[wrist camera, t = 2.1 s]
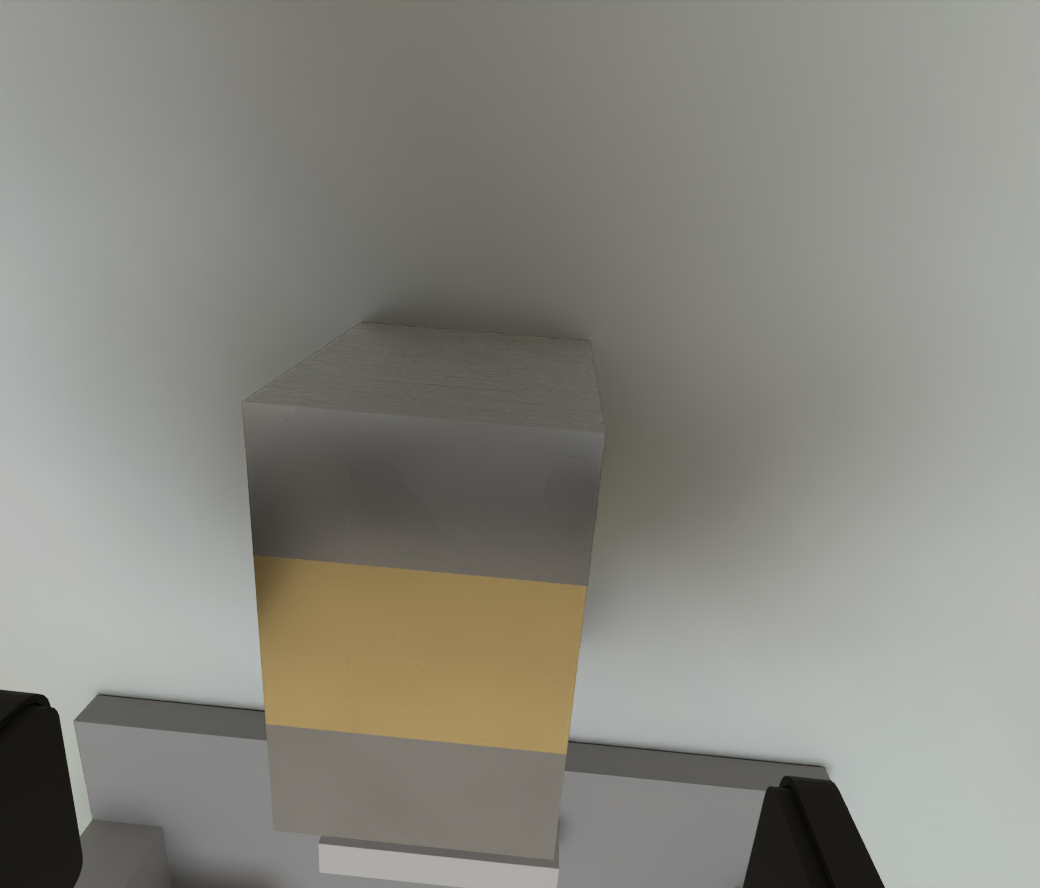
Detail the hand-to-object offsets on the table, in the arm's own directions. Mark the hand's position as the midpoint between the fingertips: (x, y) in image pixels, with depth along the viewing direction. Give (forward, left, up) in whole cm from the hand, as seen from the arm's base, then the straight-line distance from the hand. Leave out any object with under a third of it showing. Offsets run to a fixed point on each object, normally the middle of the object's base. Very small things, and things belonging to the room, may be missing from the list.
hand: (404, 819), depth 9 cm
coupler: (-1, 0, -8) cm, 8 cm away
